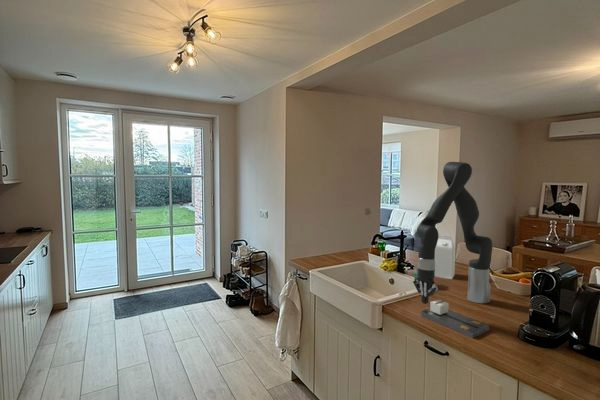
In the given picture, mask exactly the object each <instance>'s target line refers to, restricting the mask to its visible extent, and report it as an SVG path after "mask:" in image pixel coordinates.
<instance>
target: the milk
mask: <svg viewBox="0 0 600 400" xmlns="http://www.w3.org/2000/svg"><path fill="white" fill-rule="evenodd" d="M455 268H456V267H455V244H454V242H453V240H452V237H451V235H448V234H439V237H438V241H437V245H436V248H435V277H434V278H441V279H449V280H453V279H454V277H455V273H456V272H455V271H456V270H455Z"/></svg>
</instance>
